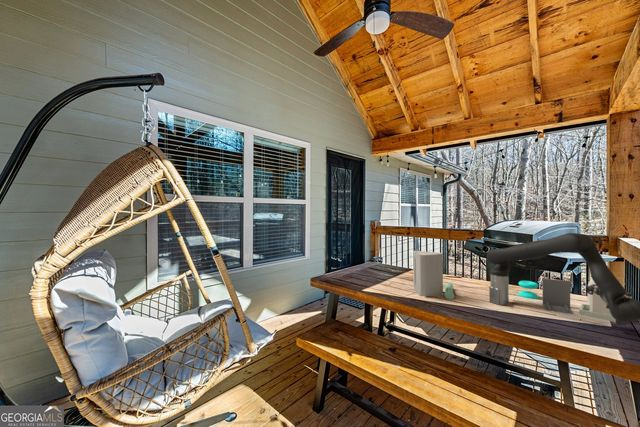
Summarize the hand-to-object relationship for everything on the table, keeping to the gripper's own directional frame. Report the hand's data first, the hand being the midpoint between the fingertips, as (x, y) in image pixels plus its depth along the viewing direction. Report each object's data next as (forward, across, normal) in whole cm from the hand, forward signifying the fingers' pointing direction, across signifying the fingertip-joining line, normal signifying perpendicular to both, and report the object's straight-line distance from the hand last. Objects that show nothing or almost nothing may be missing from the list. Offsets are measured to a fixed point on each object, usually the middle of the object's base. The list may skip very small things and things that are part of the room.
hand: (603, 288), depth 132 cm
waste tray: (+10, -1, +18) cm, 21 cm away
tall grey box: (+2, +85, +20) cm, 87 cm away
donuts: (+28, +28, +19) cm, 44 cm away
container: (+11, +71, +20) cm, 75 cm away
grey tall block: (+10, 0, +17) cm, 20 cm away
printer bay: (+10, +15, +18) cm, 26 cm away
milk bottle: (+30, -4, +18) cm, 36 cm away
